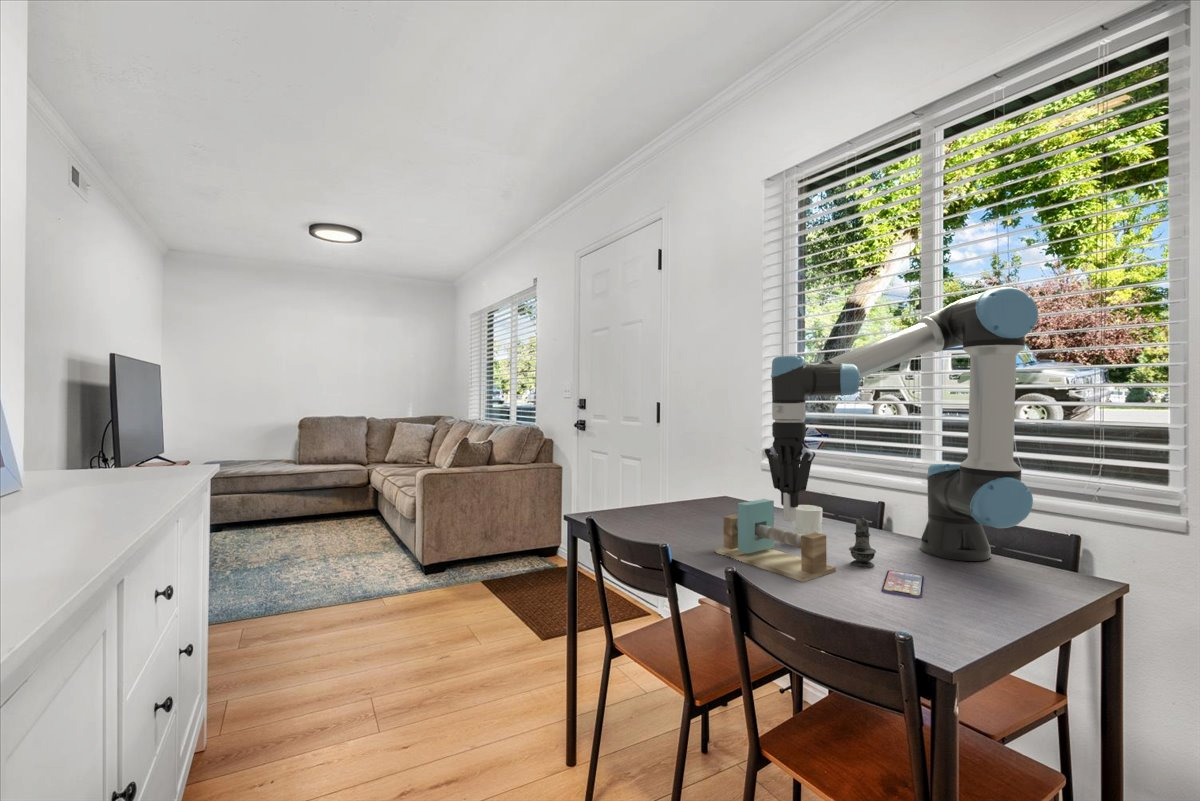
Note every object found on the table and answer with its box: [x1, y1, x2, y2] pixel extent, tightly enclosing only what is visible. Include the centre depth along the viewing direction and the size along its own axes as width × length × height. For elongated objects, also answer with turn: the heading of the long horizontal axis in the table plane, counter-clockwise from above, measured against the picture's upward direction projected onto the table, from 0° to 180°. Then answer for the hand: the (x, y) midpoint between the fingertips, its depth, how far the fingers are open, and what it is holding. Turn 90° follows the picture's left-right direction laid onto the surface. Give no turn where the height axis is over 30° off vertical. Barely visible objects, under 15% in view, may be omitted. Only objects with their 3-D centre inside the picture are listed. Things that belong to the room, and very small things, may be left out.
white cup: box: [792, 504, 823, 535], centre depth 149 cm, size 8×8×10 cm
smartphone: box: [881, 569, 925, 599], centre depth 117 cm, size 1×7×15 cm
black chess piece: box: [848, 514, 877, 569], centre depth 131 cm, size 6×6×12 cm
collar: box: [737, 498, 775, 554], centre depth 138 cm, size 3×10×12 cm, turn 123°
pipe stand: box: [713, 513, 837, 583], centre depth 134 cm, size 27×12×9 cm, turn 33°
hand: (789, 520), depth 129 cm, fingers closed
